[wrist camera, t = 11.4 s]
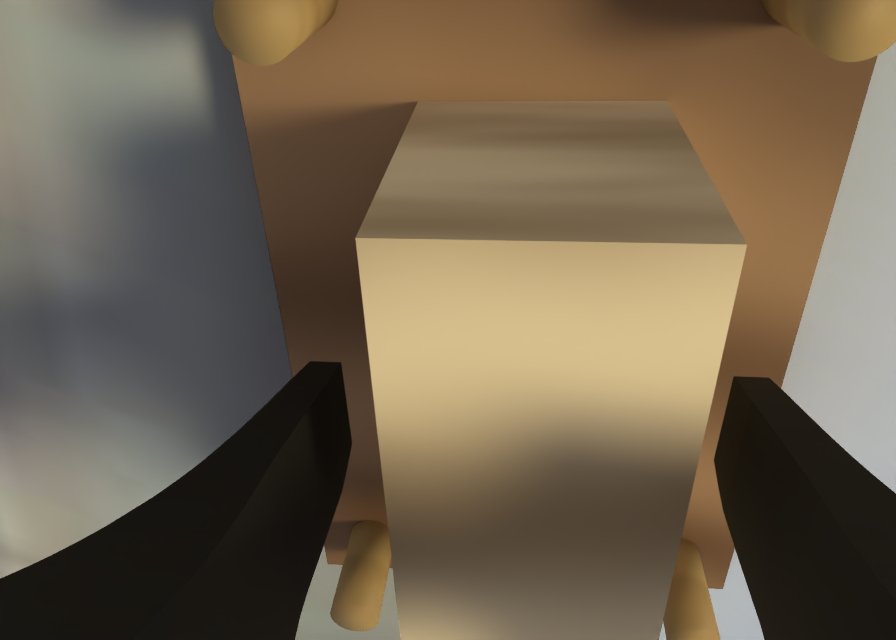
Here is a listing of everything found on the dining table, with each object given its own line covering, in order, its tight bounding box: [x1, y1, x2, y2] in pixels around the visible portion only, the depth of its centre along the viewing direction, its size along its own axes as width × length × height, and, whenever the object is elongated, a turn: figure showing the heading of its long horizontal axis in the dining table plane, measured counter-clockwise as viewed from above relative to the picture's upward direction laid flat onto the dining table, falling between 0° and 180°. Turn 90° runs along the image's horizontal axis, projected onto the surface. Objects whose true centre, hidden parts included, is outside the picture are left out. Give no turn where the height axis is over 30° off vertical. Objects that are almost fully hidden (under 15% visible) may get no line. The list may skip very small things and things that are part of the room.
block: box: [355, 101, 747, 640], centre depth 13 cm, size 10×4×6 cm, turn 2°
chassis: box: [213, 0, 896, 640], centre depth 15 cm, size 16×11×3 cm
